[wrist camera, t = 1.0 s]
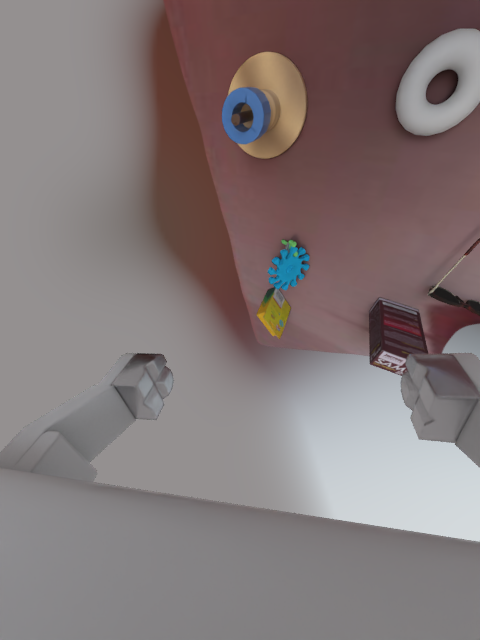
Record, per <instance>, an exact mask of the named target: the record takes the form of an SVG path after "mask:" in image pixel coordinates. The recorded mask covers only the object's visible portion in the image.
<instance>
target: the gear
mask: <svg viewBox="0 0 480 640" xmlns="http://www.w3.org/2000/svg"><path fill="white" fill-rule="evenodd" d="M282 243H283V244H285V245H286V247H285V249H284V250H281V251H280V254H281V256H282V259H280V258H279V257H275V258H274V259H273V260H272V263H274V264H275V265H277V270H276V271H275V270H274V269H273V268H272V267H270V268H269V270H268V273H269V274H270V275H273V274H277V276H276V277H275V278H273V277H270V278H269V283H271V284H273V283H275V282H276V281H278V280H280V281H279V282H278V283H275V284H274V285H273V286H274V287H275V288H276V289H277V290H278V289H279V288H280V286H281V285H282V284H283V283H284V284H283V285H282V286H281V288H282V289H283V290H287V289H288V285H289V283H290V285H291V286H292V287H294V286H296V285H297V282H296V277H297V275H298V278H299V279H300V280H302V279H303V278H304V277H305V275H304V274H302V273H301V271H300V270H301V268H303V269H304V270H306V271H307V270H308V268H309V265H308V264H301V262H302V261H303V260H305V261H309V255H308V254H305V252H306V251H305V250H304V249H303V248H302V247H301V248H299V250H298V248H297V247H295V246H296V244H297V243H296V242H295V241H293V240H290V241H289V242H287V241H285V240H282ZM297 250H298V252H297ZM303 254H305V255H304V256H302V257H300V258H298V257H299V256H300V255H303ZM291 280H292V281H291ZM290 281H291V282H290Z"/></svg>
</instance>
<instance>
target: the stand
mask: <svg viewBox="0 0 480 640" xmlns="http://www.w3.org/2000/svg"><path fill="white" fill-rule="evenodd" d="M242 87H255V88H258V89H259V90H261V91H262V92H263V93H264V94H265V96H266V97H267V99H268V101H269V104H270V108H271V118H270V124H269V126H268V129H267V131H266V132H265V133H264V134H263V135H262V136H261V138H259V139H257V140H255V141H253V142H251V143H248V144H238V145H239V146H240V147H241V148H242V149H243V150H244V151H245V152H246V153H248V154H250V155H252V156H254V157H257V158H263V159H266V158H273V157H276V156H278V155H280V154H282V153H283V152H285V151H286V150H287V149H288V148H289V147H290V146H291V145H292V144H293V143H294V142H295V141H296V139H297V138H298V136H299V134H300V132H301V130H302V128H303V125H304V122H305V118H306V113H307V103H308V102H307V91H306V86H305V82H304V79H303V77H302V74H301V73H300V71H299V69H298V68H297V66H296V65H295V64H294V63H293V62H292V61H291V60H290V59H289V58H287V57H286V56H284V55H281V54H279V53H275V52H262V53H259V54H256V55H254V56H252V57H250V58H249V59H248V60H247V61H245V62H244V63H243V64H242V66H241V67H240V68H239V69H238V71H237V72H236V74H235V76H234V78H233V80H232V83H231V85H230V89H229V93H228V95H229V94H230V93H231V92H232V91H234V90H236V89H238V88H242ZM253 118H254V116H253V112H252V109H251V107H250V106H249V105H248V104H246V103H245V104H244V105H243V107H242V110H241V112H240V113H236V114H233V115H232V117H231V122H232V124H233V125H234V126H237V125H240V124H244V126H245V127H247V128H251V126H252V124H253Z"/></svg>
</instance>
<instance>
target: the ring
mask: <svg viewBox="0 0 480 640" xmlns="http://www.w3.org/2000/svg"><path fill="white" fill-rule="evenodd" d="M245 103H246V104H248V105H249V106H250V107H251V109H252V112H253V116H254V118H253V124H252V126H251V128H247V127H245V126H244V124H240V125H237V126H234V125H233V124H232V122H231V117H232V115H233V114H236V113H240V112H241V110H242V107H243V105H244V104H245ZM270 118H271V108H270V104H269V101H268V99H267V97H266V96H265V94H264V93H263V92H262V91H261V90H259V89H258V88H255V87H242V88H238V89H236V90H234V91H232V92H231V93H230V94H229V95H228V97H227V98H226V100H225V102H224V106H223V109H222V122H223V125H224V129H225V131H226V133H227V134H228V136H229V137H230V138H231V139H232V140H233V141H235V142H236V143H238V144H248V143H251V142H253V141H255V140H257V139H259V138H261V136H262V135H263V134H264V133H265V132H266V131H267V129H268V126H269V124H270Z"/></svg>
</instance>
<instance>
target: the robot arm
mask: <svg viewBox="0 0 480 640" xmlns="http://www.w3.org/2000/svg"><path fill="white" fill-rule="evenodd" d="M166 362H167V361H166V359H165V357H164V355H162V354H145V353H137V354H134V353H133V354H132V353H126V354H124V355H122V356H121V357H120V358H119V360H118V361H117V362H116V363H115V365H114V366H113V367H112V368H111V369H110V371H109V372H108V373H107V374H106V375H105V377H104V378H103V379H102V380H101V382H100V383H99V384H98V385H93V386H92V387H90V388H88V389H87V390H85V391H83V392H82V393H80V394H78V395H77V396H75V397H73V398H72V399H70V400H69V401H67V402H65V403H63V404H62V405H60V406H58V407H57V408H55V409H53V410H52V411H50V412H48V413H47V414H46V415H44V416H42V417H40V418H39V419H37V420H35V421H34V422H32V423H31V424H29V425H27V426H25V427H24V428H23V429H22V430H21V431H20V432H19V433H18V435H17V436H16V437H15V438H14V439H13V440H12V441H11V442H10V443H9V444H8V445H7V446H6V447H5V448H4V449H3V450H2V451H1V452H0V640H480V542H476V541H471V540H464V539H457V538H451V537H444V536H438V535H431V534H425V533H419V532H412V531H406V530H399V529H393V528H387V527H380V526H374V525H367V524H361V523H354V522H347V521H341V520H334V519H329V518H322V517H315V516H309V515H303V514H296V513H289V512H283V511H277V510H270V509H264V508H257V507H251V506H245V505H238V504H232V503H225V502H219V501H212V500H206V499H199V498H193V497H187V496H180V495H174V494H167V493H161V492H154V491H148V490H141V489H135V488H128V487H122V486H115V485H109V484H102V483H96V482H93V481H94V479H95V478H96V475H97V470H96V469H95V468H94V467H93V466H92V465H91V464H90V462H91V461H92V460H93V459H94V458H95V457H96V456H97V455H98V454H99V453H101V452H102V451H103V450H104V449H105V448H106V447H107V446H108V445H109V444H110V443H112V442H113V441H114V440H115V439H116V438H117V437H118V436H119V435H120V434H121V433H122V432H124V431H125V430H126V429H127V428H128V427H129V426H130V425H131V424H132V423H133V422H134V421H135V420H136V419H147V420H156V419H157V418H158V416H159V414H160V412H161V410H162V408H163V406H164V401H163V399H164V398H165V397H166V396H168V395H169V394H170V392H171V390H172V387H173V374H172V372H171V370H170V369H169V368H167V367H166V366H165V365H166ZM405 365H406V367H407V369H408V370H407V371H406V372H405V373H403V374H402V378H401V392H402V397H403V400H404V403H405V405H406V406H407V407H409V408H410V409H411V410H412V411H413V412H412V415H411V421H412V423H413V426H414V428H415V430H416V433H417V435H418V438H419V439H422V440H431V441H441V442H451V443H455V445H456V446H457V447H458V448H459V449H460V450H461V451H462V452H464V453H465V454H466V455H467V456H468V457H469V458H470V459H471V460H472V461H473V462H474V463H476V465H478V466H479V467H480V360H479V359H478V357H476V355H474V354H472V353H450V354H409V355H408V356H407V358H406V362H405Z"/></svg>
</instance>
